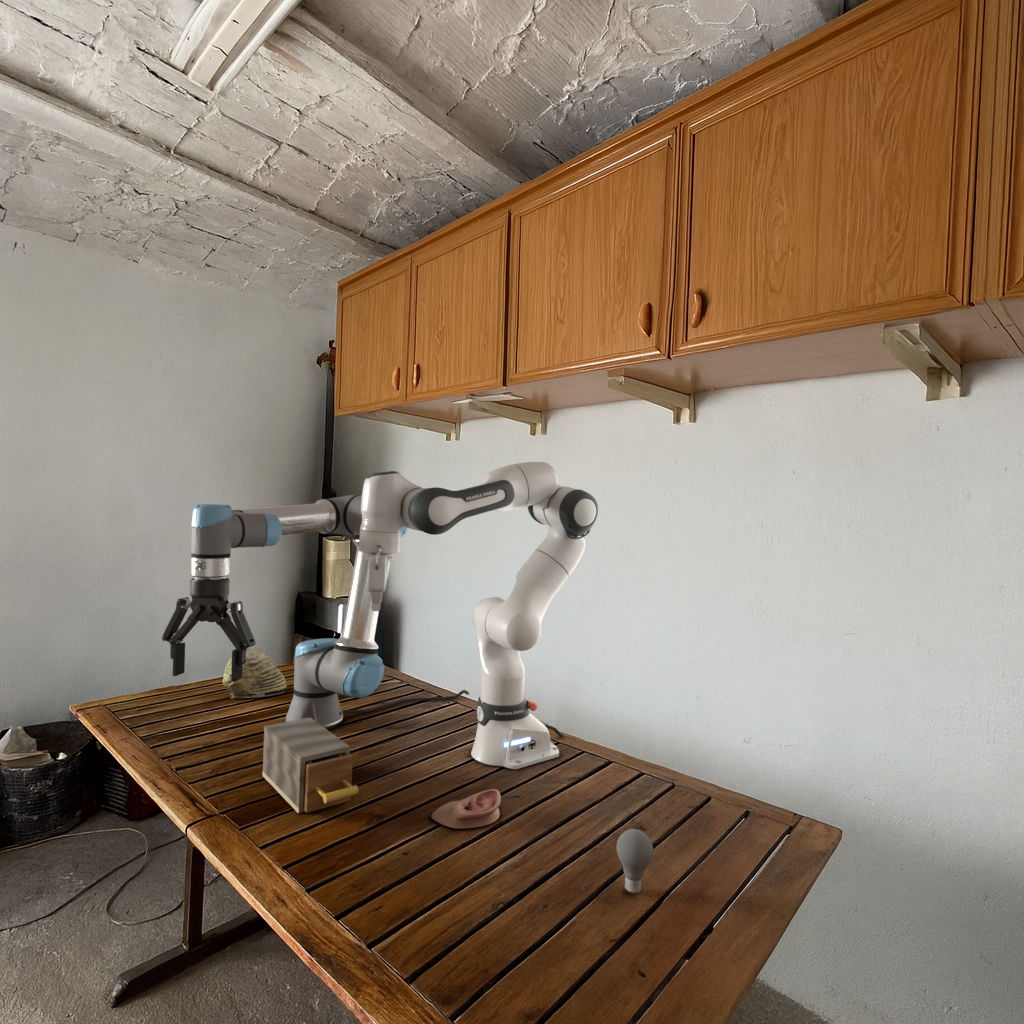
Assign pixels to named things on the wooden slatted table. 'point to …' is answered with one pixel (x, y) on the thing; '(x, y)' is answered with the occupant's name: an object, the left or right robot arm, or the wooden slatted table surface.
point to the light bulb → (634, 857)
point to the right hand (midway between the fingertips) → (376, 606)
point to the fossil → (255, 677)
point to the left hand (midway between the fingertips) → (207, 677)
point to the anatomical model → (470, 811)
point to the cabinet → (296, 755)
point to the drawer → (328, 781)
